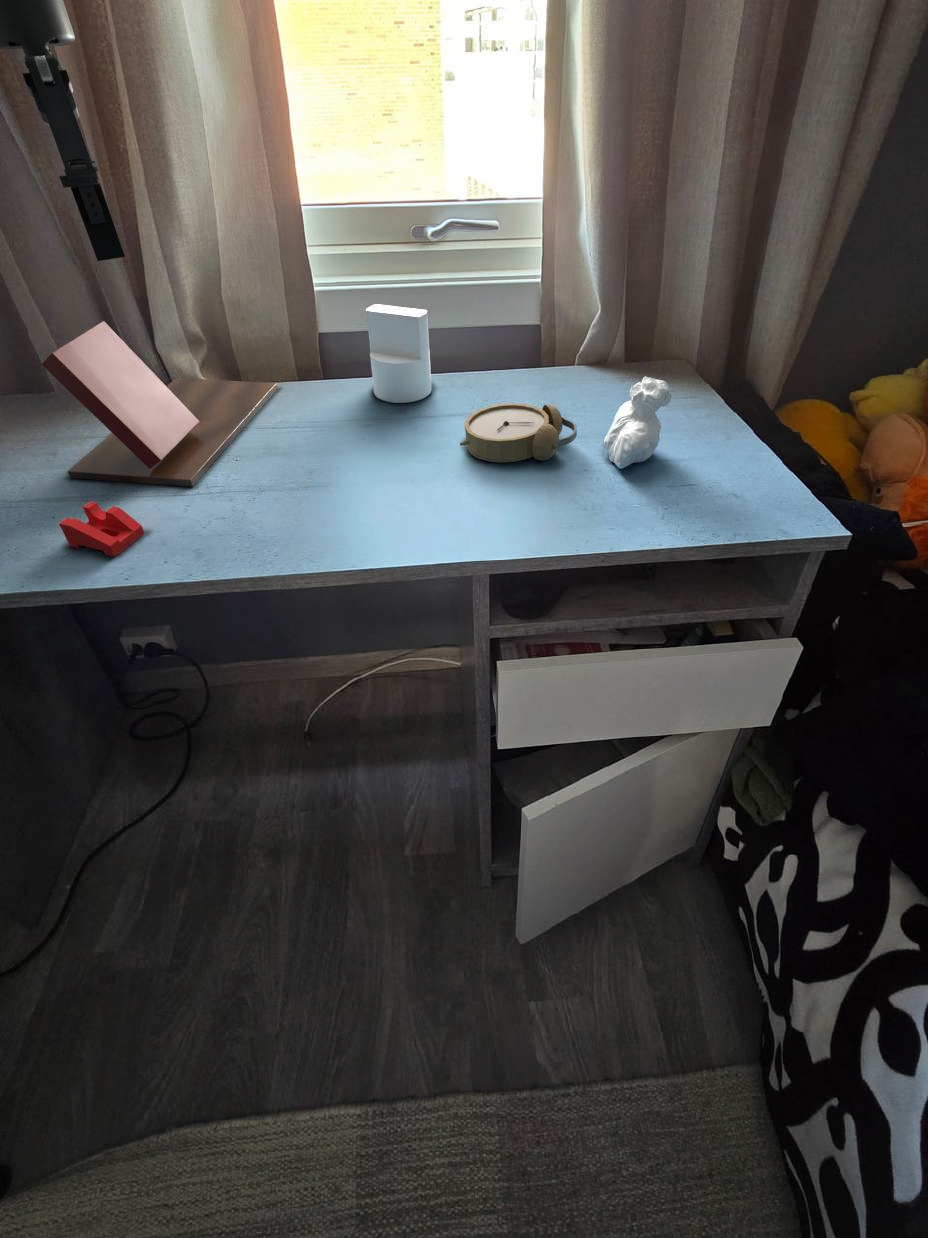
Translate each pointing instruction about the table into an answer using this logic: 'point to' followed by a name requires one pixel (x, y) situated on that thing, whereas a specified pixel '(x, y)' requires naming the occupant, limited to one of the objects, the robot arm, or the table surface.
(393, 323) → the cylinder with rectangular tab
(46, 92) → the robot arm
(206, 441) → the stand
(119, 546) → the bracket
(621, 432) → the white tied bag
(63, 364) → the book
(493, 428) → the alarm clock
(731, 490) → the table surface
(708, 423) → the table surface
